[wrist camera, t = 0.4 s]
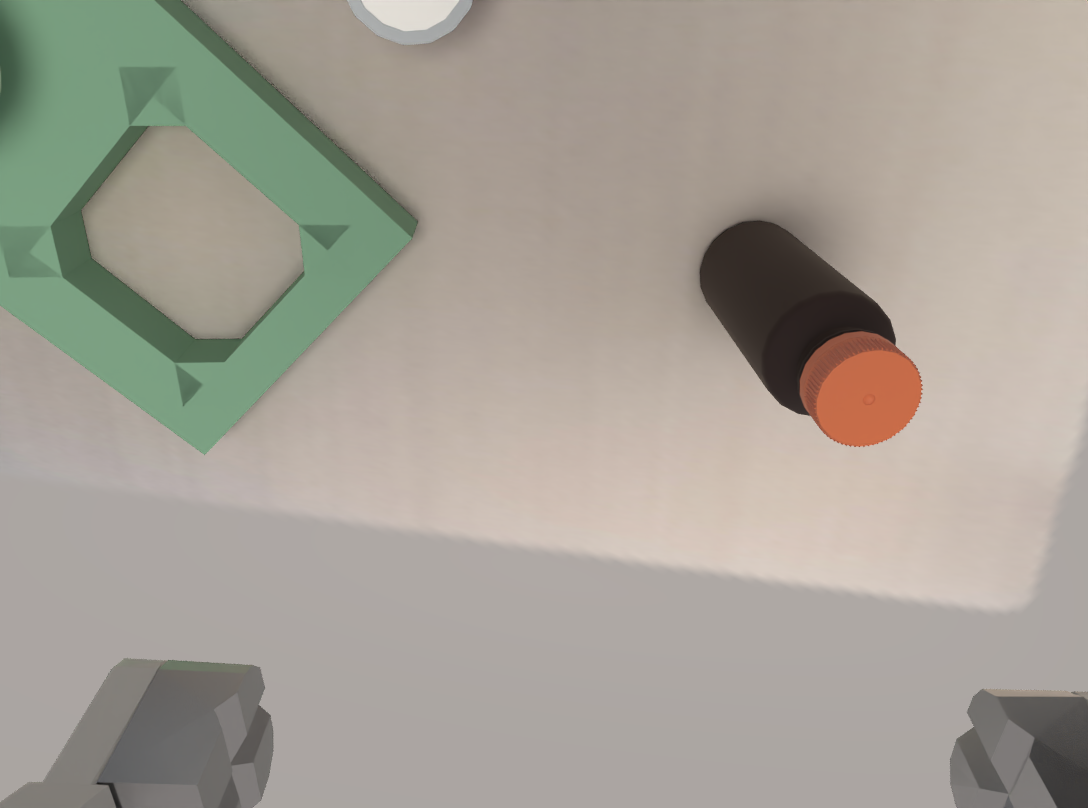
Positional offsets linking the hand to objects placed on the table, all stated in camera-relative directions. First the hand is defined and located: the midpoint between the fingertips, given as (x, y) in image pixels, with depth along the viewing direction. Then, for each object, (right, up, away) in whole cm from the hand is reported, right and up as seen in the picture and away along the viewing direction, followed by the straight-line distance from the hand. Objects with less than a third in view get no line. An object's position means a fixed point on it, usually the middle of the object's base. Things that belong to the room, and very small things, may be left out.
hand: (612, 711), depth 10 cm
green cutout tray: (-27, +19, +41) cm, 53 cm away
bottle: (+13, +12, +47) cm, 50 cm away
